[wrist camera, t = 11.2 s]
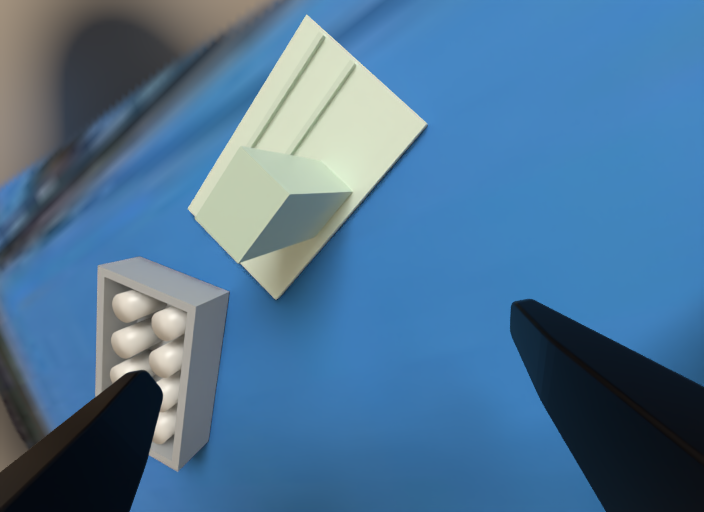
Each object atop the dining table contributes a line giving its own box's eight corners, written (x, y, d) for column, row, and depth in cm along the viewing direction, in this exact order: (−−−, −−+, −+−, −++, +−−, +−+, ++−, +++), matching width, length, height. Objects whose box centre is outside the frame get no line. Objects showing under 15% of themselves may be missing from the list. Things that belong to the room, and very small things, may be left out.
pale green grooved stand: (428, 126, 17) (402, 79, 9) (282, 296, 22) (190, 351, 14) (313, 21, 17) (207, -96, 10) (196, 208, 22) (68, 218, 15)
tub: (229, 291, 22) (196, 306, 20) (208, 441, 26) (177, 471, 23) (139, 256, 24) (97, 265, 21) (131, 399, 28) (95, 423, 25)
